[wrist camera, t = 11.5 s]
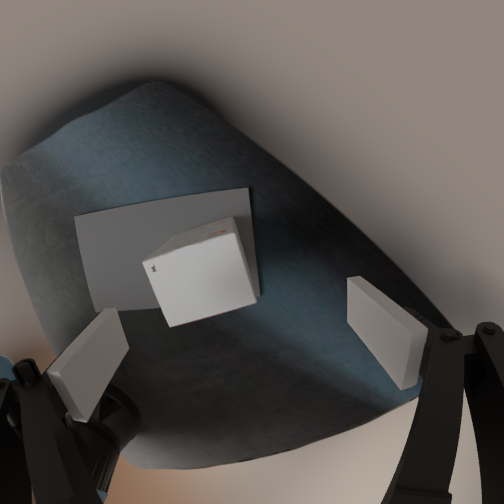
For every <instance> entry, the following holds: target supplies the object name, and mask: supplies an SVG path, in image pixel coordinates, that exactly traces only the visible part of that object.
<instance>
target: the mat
mask: <svg viewBox="0 0 504 504" xmlns="http://www.w3.org/2000/svg"><path fill="white" fill-rule="evenodd" d="M229 217H233V218H234V220H235V224H236V227H237V230H238V233H239V237H240V240H241V243H242V246H243V250H244V253H245V256H246V259H247V263H248V267H249V270H250V275H251V279H252V283H253V287H254V291H255V295H256V297H260V289H259V280H258V271H257V262H256V253H255V244H254V235H253V226H252V217H251V209H250V200H249V191H248V188H240V189H232V190H224V191H216V192H209V193H201V194H194V195H188V196H181V197H175V198H168V199H162V200H156V201H150V202H145V203H139V204H134V205H128V206H123V207H118V208H113V209H108V210H103V211H98V212H94V213H89V214H84V215H80V216H76V217H74V219H75V225H76V231H77V237H78V242H79V248H80V253H81V257H82V262H83V266H84V271H85V275H86V279H87V283H88V287H89V291H90V295H91V298H92V302H93V305H94V309H95V312H102V311H103V310H104V309H105V308H114V307H116V309H117V311H125V310H139V309H151V308H161V307H160V305H159V302H158V300H157V298H156V295H155V293H154V290H153V288H152V285H151V283H150V280H149V278H148V276H147V273H146V271H145V268H144V266H143V263H142V262H143V261H144V260H145V259H146V258H147V257H149V256H150V255H151V254H152V253H153V252H154V251H156V250H157V249H158V248H159V247H161V246H162V245H163V244H164V243H166V242H167V241H168V240H169V239H170V238H171V237H173V236H174V235H177V234H180V233H183V232H185V231H188V230H191V229H194V228H197V227H200V226H204V225H207V224H210V223H213V222H216V221H219V220H222V219H226V218H229Z"/></svg>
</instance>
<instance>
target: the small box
mask: <svg viewBox="0 0 504 504" xmlns="http://www.w3.org/2000/svg"><path fill="white" fill-rule="evenodd" d="M142 263H143V266H144V268H145V271H146V273H147V276H148V278H149V280H150V283H151V285H152V288H153V290H154V293H155V295H156V298H157V300H158V302H159V305H160V307H161V309H162V311H163V314H164V316H165V318H166V320H167V323H168V325H169V327H174V326H178V325H182V324H185V323H189V322H193V321H197V320H200V319H204V318H207V317H211V316H215V315H218V314H222V313H225V312H228V311H232V310H235V309H239V308H242V307H246V306H249V305H252V304H256V303H257V300H256V295H255V291H254V287H253V283H252V279H251V275H250V270H249V267H248V263H247V259H246V256H245V253H244V250H243V246H242V243H241V240H240V237H239V233H238V230H237V227H236V224H235V220H234V218H233V217H229V218H226V219H222V220H219V221H216V222H213V223H210V224H207V225H204V226H200V227H197V228H194V229H191V230H188V231H185V232H183V233H180V234H177V235H174V236H173V237H171V238H170V239H169V240H168V241H167V242H166V243H164V244H163V245H162V246H161V247H159V248H158V249H157V250H156V251H154V252H153V253H152V254H151V255H150V256H149V257H147V258H146V259H145V260H144V261H143V262H142Z"/></svg>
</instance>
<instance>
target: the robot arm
mask: <svg viewBox="0 0 504 504" xmlns="http://www.w3.org/2000/svg"><path fill="white" fill-rule="evenodd" d="M347 289H348V308H347V322H348V323H349V325H350V326H351V327H352V328H353V330H354V331H355V332H356V333H357V335H358V336H359V337H360V338H361V340H362V341H363V342H364V343H365V345H366V346H367V347H368V349H369V350H370V351H371V352H372V354H373V355H374V356H375V357H376V359H377V360H378V361H379V363H380V364H381V365H382V366H383V368H384V369H385V370H386V372H387V373H388V374H389V376H390V377H391V378H392V379H393V381H394V382H395V383H396V385H397V386H398V387H399V389H400V390H401V391H402V390H404V389H407V388H410V387H412V386H415V385H416V383H417V380H418V376H419V374H420V375H421V376H422V377H423V379H424V380H423V384H422V387H421V391H420V394H419V397H418V398H419V401H418V404H417V408H416V412H415V415H414V419H413V422H412V426H411V429H410V432H409V435H408V438H407V442H406V445H405V447H404V450H403V453H402V456H401V458H400V461H399V464H398V466H397V469H396V471H395V473H394V476H393V478H392V481H391V483H390V485H389V487H388V490H387V492H386V494H385V496H384V498H383V500H382V502H381V504H451V501H452V494H451V493H449V492H448V489H449V484H450V480H451V476H452V472H453V468H454V463H455V458H456V452H457V447H458V441H459V434H460V426H461V417H462V407H463V392H464V389H465V393H466V397H467V401H468V405H469V409H470V414H471V418H472V423H473V428H474V433H475V438H476V444H477V451H478V458H479V466H480V475H481V489H482V504H504V332H503V330H502V329H501V327H500V326H498V325H496V324H495V323H493V322H492V323H491V322H483V323H480V324H478V325H477V327H476V331H475V334H474V335H468V336H463V335H462V333H460V332H459V331H458V330H455V329H451V328H442V329H439V328H438V327H436V326H435V325H434V324H432V323H431V322H430V321H428V320H427V319H425V318H424V317H423V316H422V315H420V314H419V313H418V312H416V311H415V310H414V309H411V308H408V307H400V306H399V305H398V304H396V303H395V302H394V301H392V300H391V299H390V298H388V297H387V296H386V295H384V294H383V293H382V292H381V291H379V290H378V289H377V288H375V287H374V286H373V285H371V284H370V283H369V282H367V281H366V280H365V279H363V278H362V277H361V276H356V277H350V278H347ZM128 350H129V346H128V343H127V340H126V337H125V334H124V331H123V328H122V325H121V322H120V319H119V316H118V312H117V309H116V307H114V308H105V309H104V310H103V311H102V312H101V313H100V314H99V315H98V316H97V317H96V318H95V319H94V320H93V321H92V322H91V323H90V324H89V325H88V326H87V327H86V328H85V329H84V330H83V331H82V333H81V334H80V335H79V336H78V337H77V338H76V339H75V340H74V341H73V342H72V343H71V344H70V345H69V346H68V347H67V349H66V350H64V351H63V352H61V354H60V355H59V356H58V357H57V359H55V360H54V361H53V363H52V364H51V365H50V366H49V367H48V368H47V369H46V370H45V371H44V373H43V374H42V375H41V373H40V371H39V369H38V367H37V366H36V363H35V361H34V360H33V359H28V358H27V359H23V360H21V361H19V362H17V363H16V364H15V365H14V364H13V362H12V361H11V360H10V358H9V357H7V356H6V355H3V354H0V504H32V489H33V493H34V496H35V500H36V504H103V503H104V501H105V499H106V497H107V495H108V494H107V492H108V489H109V486H110V482H111V479H112V476H113V473H114V470H115V467H116V464H117V461H118V458H119V454H120V452H121V451H122V450H123V448H124V447H125V446H126V445H127V444H128V443H129V442H130V440H132V439H133V438H134V437H135V436H136V434H137V433H138V430H139V427H140V423H141V418H140V414H139V412H138V410H137V408H136V407H135V405H134V404H133V403H132V401H131V400H130V399H129V398H128V397H127V396H126V395H124V394H123V393H122V392H121V391H119V390H118V389H116V388H115V387H113V386H111V385H110V384H109V382H110V380H111V378H112V377H113V375H114V373H115V371H116V370H117V368H118V366H119V365H120V363H121V361H122V360H123V358H124V356H125V355H126V353H127V351H128Z"/></svg>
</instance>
